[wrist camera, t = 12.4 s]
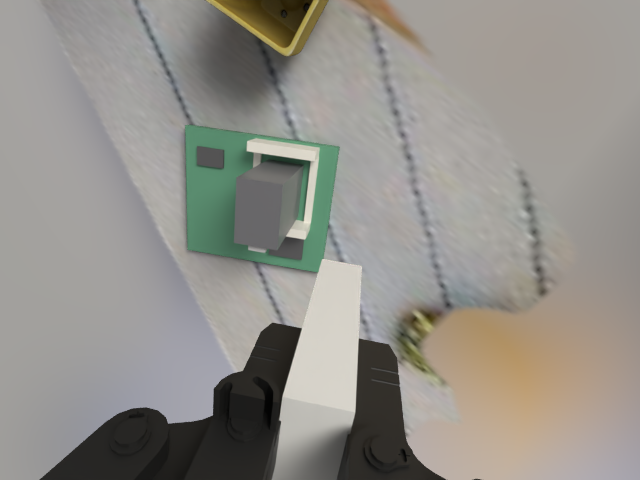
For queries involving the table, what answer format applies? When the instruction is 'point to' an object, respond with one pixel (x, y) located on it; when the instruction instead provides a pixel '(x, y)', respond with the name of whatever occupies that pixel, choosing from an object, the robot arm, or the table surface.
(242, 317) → the table surface
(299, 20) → the flower pot
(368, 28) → the table surface
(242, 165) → the board
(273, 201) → the plug
